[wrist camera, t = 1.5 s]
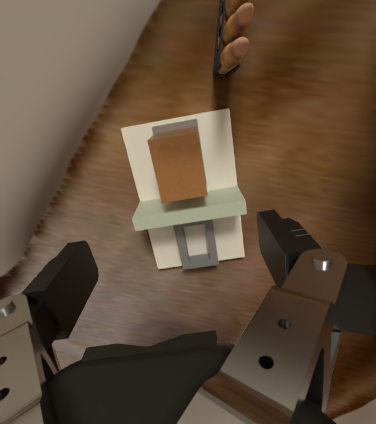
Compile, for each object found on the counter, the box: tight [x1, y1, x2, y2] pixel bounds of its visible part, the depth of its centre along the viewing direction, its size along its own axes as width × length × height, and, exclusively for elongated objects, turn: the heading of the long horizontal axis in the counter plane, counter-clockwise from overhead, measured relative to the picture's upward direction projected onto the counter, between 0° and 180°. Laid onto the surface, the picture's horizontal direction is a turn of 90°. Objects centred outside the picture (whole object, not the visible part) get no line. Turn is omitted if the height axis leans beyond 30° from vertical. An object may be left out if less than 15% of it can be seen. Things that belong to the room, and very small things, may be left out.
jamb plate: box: [121, 108, 247, 270], centre depth 30 cm, size 19×12×6 cm, turn 10°
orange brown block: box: [147, 126, 208, 203], centre depth 27 cm, size 6×4×6 cm
